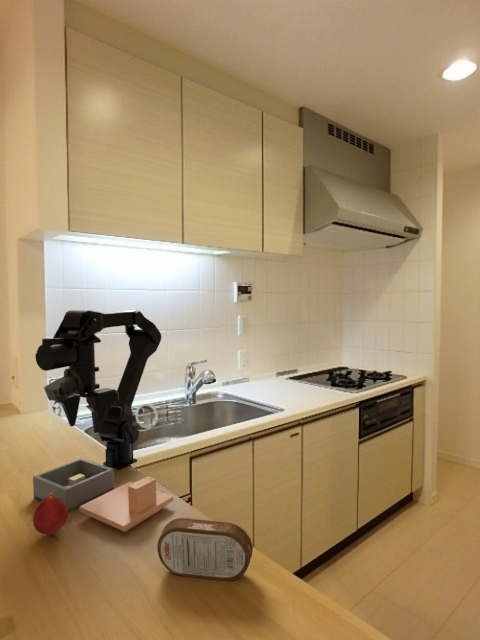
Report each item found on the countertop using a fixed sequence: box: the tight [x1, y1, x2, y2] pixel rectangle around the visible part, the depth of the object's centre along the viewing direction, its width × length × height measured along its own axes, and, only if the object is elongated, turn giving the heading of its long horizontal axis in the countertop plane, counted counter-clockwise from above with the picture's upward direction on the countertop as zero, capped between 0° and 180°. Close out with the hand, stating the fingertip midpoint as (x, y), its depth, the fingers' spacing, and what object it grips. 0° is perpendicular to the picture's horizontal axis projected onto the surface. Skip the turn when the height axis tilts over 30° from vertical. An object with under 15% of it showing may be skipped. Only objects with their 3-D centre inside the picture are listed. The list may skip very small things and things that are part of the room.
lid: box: [78, 476, 174, 533], centre depth 82 cm, size 13×13×8 cm
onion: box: [32, 493, 69, 537], centre depth 74 cm, size 6×6×8 cm
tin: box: [156, 517, 254, 582], centre depth 63 cm, size 15×3×8 cm, turn 80°
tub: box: [32, 458, 115, 514], centre depth 90 cm, size 12×12×5 cm
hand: (84, 429), depth 95 cm, fingers open, 9 cm apart
